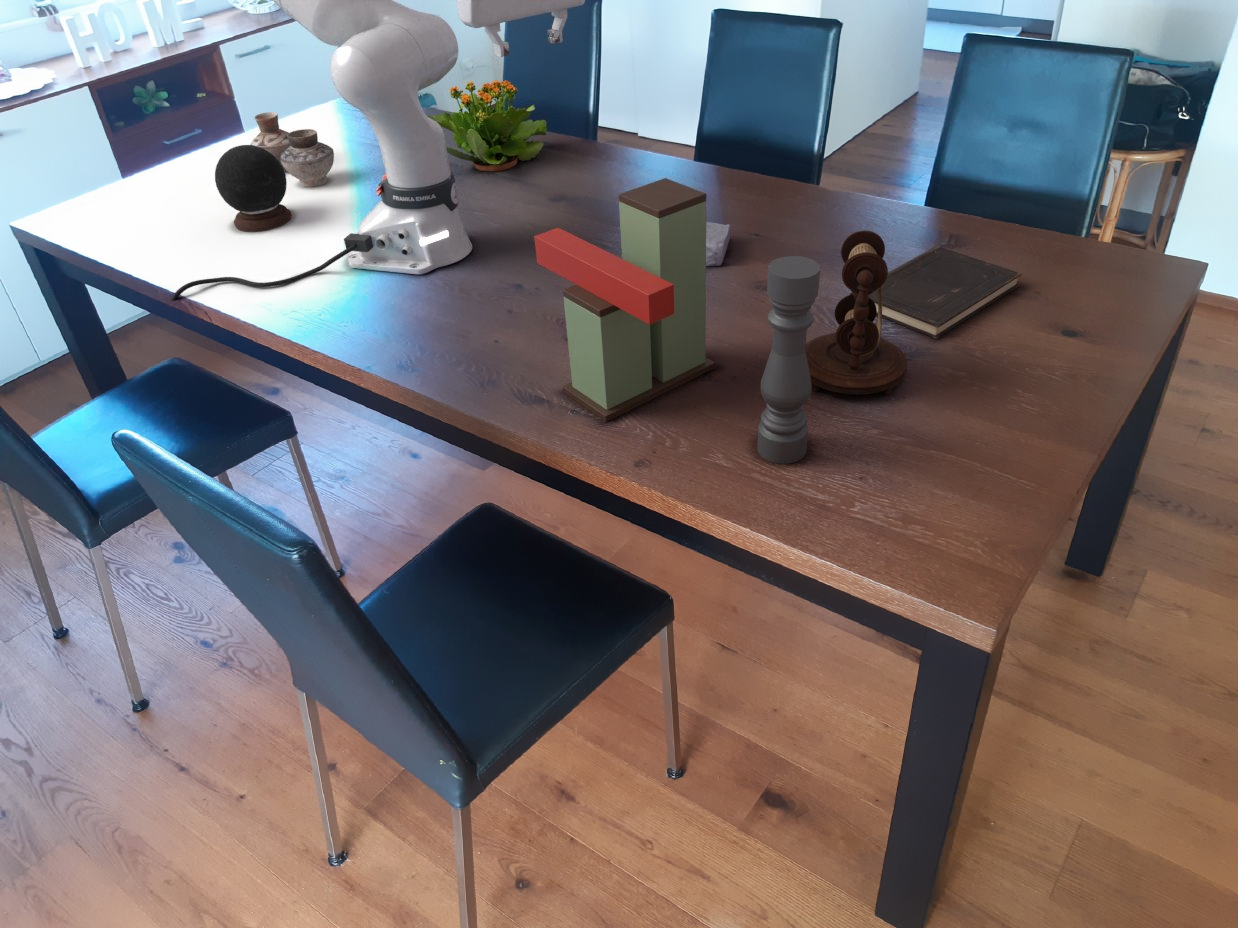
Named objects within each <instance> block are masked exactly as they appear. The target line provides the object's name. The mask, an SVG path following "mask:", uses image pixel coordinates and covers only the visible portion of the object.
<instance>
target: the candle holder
mask: <svg viewBox="0 0 1238 928" xmlns="http://www.w3.org/2000/svg"><path fill="white" fill-rule="evenodd" d="M820 276H821V265H820V264H819V263H818V262H817V261H816V260H815V259H811V258H809V257H805V256H800V255H792V256H791V255H789V256H782V257H777V258H775V259H773V260H771V262H770V263H769V264H768V265H767V284H766V287H767V288H766V293H767V294H766V295H767V297H768V299H769V303H770V304H771V307H772V309H771V310H770V311H769V312H768V314H767V323H768V324H769V325H770V326H771V328H772V341H771V342H772V344H771V349H770V353H769V356H768V359H767V362H766V364H765V368H764V371H763V374H762V377H761V379H760V393H761V397H762V398H763V400H764V401H765V403H766V408H765V409H763V411H762V412H761V414H760V422H759V423H758V425H757V427H758V428H757V445H756V446H757V453H758V454H759V456H760V457H761V458H763V459H764V460H766V461H767V462H770V463H774V464H780V465H782V464H783V465H784V464H785V465H788V464H793V463H797V462H799V461H801V460H802V459H804V457H805V455H806V454H807V450H808V439H809V437H808V436H809V426H808V424H807V423H808V416H807V414H806V413H805V411H804V410H803V408H804V405H805V404H806V402H807V401H808V399H809V398H810V397H811V394H812V389H813V384H812V383H811V378H810V373H809V368H808V362H807V357H806V351H805V346H806V343H807V331H808V329H809V328H811V326H812V325H813V324H814V322H815V321H814V320H815V317H814V313H813V312H812V311H810V310H811V308H812V306H813V305H814V304H815V302H816V299H817V298H818V296H819V290H820V289H819V288H820Z"/></svg>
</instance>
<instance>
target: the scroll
mask: <svg viewBox="0 0 1238 928" xmlns="http://www.w3.org/2000/svg"><path fill="white" fill-rule="evenodd" d="M885 252H886V245H885V242H884V240H883V239H882V237H881V236H880V235H879V234H878V233H876V232H874V231H871V230H858V231H855V232H853V233H851V234H849V235H848V236H847V237H846V238H845V239H844V241H843V243H842V245H841V248H840V256H841V260H842V262H843V263H844V264H843V267H842V269H841V279H842V282H843V284H844V286H845V288H846V289H848V290H849V291H850V293H852V294H851V295H850V294H847V295H846V296H844V297H843V298H841V299H840V300H839V301H838V302H837V304H836V306H835V308H834V318H835V321H836V322H837V324H838V325H839V326H838V327H837V329H836V331H835V332H830V333H827V334H823V335H820V336H817V337H814V338H813V339H811V340H809V341H806V346H805V351H806V357H807V362H808V368H809V373H810V378H811V384H812V389H813V390H814V392H818V391H819V390H820V389H824V390H827V391H830V392H833V393H839V394H846V395H870V394H876V393H881V392H883V393H884V395H886V396H888V395H889V394H890V393H891V392H892V389H893V388H894V387H895V386H897V385H898V384H899V383H901V382H902V381H903V380H904V378H905V376H906V374H907V368H908V360H907V357H906V355H905V353H904V352H903V351H902V350H901V349H900V347H899V346H897V345H895V344H894V343H892V342H891V341H888V340H886V339H885V338H882V329H883V327H882V326H883V325H882V324H883V318H882V288H881V286H882V285H883V284H884V282H885V281H886V278H887V275H888V272H889V268H888V265H887V262H886V261H885V259H884V256H885ZM875 290H878V316H877V315H876V314H877V309H876V305H875V303H874V301H873V300H872V299H871V298H869V297H868V296H869V295H871V294H872V293H873V292H874V291H875ZM876 317H877V318H876ZM875 319H876V321H875ZM874 321H875V323H874Z"/></svg>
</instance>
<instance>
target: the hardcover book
mask: <svg viewBox="0 0 1238 928" xmlns="http://www.w3.org/2000/svg"><path fill="white" fill-rule="evenodd" d="M1022 275H1023V273H1021V272H1018V271H1014V270H1012V269H1009V268H1006V267H1003V266H1001V265H1000V266H999V265H997V264H993V263H990V262H986V261H984V260H981V259H978V258H975V257H972V256H968V255H966V254H963V253H960V252H957V251H953V250H950V249H947V248H944V247H942V246H938V245H936V246H934V247H931V248H929V249H928V250H926V251H924V252H923V253H921V254H919V255H917V256H916V257H913V258H912V259H910V260H907V261H906V262H905V263H902V264H900V265H899V266H897V267H895V268H893V269H892V270H890V271H888V275H887V278H886V281H885V282H884V284H883V285H882V286H881V288H882V319H885V320H887V321H890V322H892V323H895V324H897V325H900V326H902V327H904V328H907V329H910V330H912V331H915V332H917V333H919V334H922V335H925V336H928V337H929V338H933V339H935V340H937V339H939V338H940V337H942V336H943V335H944V334H946V333H948V332H950V331H951V330H952V329H954V328H956V327H957V326H958V325H960V324H962V323H963V322H965V321H966V320H968V319H969V318H971V317H973V316H975V315H976V314H978V313H979V312H981V311H982V310H984V309H985V308H987V307H989V306H990V305H993V303H995V302H997V301H998V300H999V299H1001V298H1002V297H1003V298H1004V296H1006V295H1007V294H1010V292H1012V291H1014V290H1016V289H1017V288H1018V287H1019V286H1020V284H1018V283H1017V282H1018V281H1019V279H1018V278H1019V277H1021V276H1022ZM851 294H852V292H850V293H849V295H851ZM868 297H869V298H871V299H872V300H873V301H874V303H875V305H876V309H877V314H876V317H878V290H875V291H874V292H873V293H872V294H871V295H869V296H868Z"/></svg>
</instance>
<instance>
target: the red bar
mask: <svg viewBox="0 0 1238 928" xmlns="http://www.w3.org/2000/svg"><path fill="white" fill-rule="evenodd" d="M533 238H534V245H535V255H536V263H537V265H540V266H541V267H543V268H545V269H547V270H548V271H551V272H552V273H554V274H556V275H557V276H560V277H561V278H563V279H565V280H566V281H569V282H571V283H572V284H573V285H578V286H580V287H582V288H583V289H585V290H587V291H589V292H591V293H593V294H594V295H596V296H598V297H600V298H602V299H603V300H605V301H607V302H609V303H611V304H613V305H614V306H616V307H618V308H620V309H622V310H624V311H625V312H627V313H629V314H631V315H633V316H634V317H636V318H638V319H640V320H642V321H644V322H645V323H647V324H649V325H650V324H653V323H655V322H657V321H659V320H662V319H664V318H666V317H668V316H671V315H673V314H674V284H672V283H670V282H668V281H666V280H664V279H662V278H660V277H658V276H656V275H653V274H651V273H649V272H647V271H645V270H643V269H641V268H639V267H637V266H635V265H633V264H631V263H629V262H627V261H625V260H623V259H622V257H619V256H617V255H615V254H612V252H608V251H607V250H605V249H602V248H600V247H599V246H597V245H594V244H592V243H590V242H588V241H586V240H584V239H582V238H580V237H578V236H576V235H574V234H573V233H570V232H568V231H567V230H565V229H561V228H560V227H555V228H553V229H550V230H547V231H545V232H542V233H539V234H537V235H534V236H533Z"/></svg>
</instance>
